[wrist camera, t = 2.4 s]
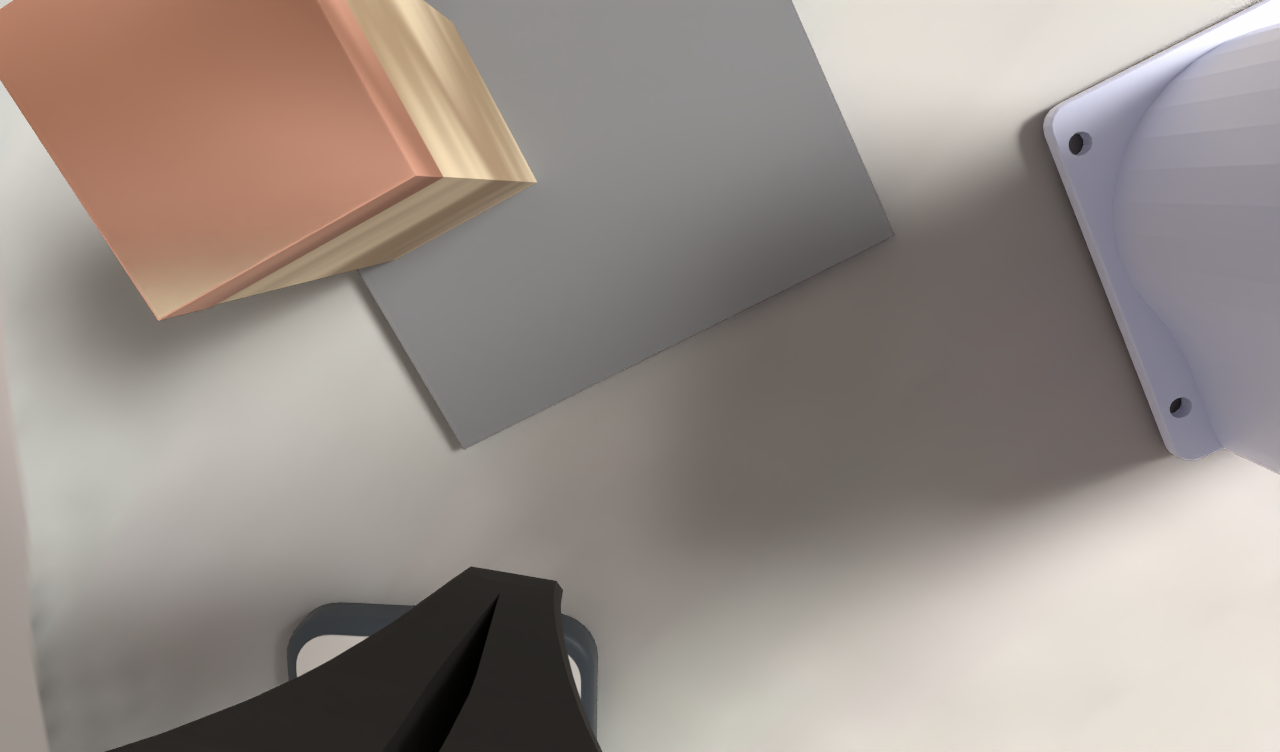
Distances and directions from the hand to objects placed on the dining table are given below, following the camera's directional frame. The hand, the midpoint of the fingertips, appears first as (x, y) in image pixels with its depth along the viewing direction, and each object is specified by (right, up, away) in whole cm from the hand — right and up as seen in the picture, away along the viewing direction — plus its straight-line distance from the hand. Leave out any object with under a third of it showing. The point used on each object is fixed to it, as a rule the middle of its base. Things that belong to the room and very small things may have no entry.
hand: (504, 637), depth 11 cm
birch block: (-3, +9, +8) cm, 12 cm away
